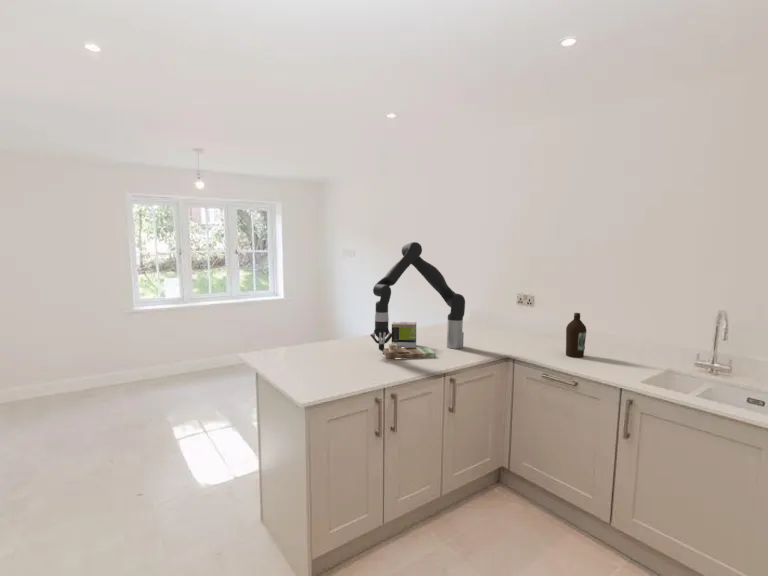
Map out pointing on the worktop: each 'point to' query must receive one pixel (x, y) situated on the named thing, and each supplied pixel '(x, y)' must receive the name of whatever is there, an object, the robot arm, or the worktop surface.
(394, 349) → the block
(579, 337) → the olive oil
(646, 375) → the worktop surface
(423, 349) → the board
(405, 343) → the tea box
